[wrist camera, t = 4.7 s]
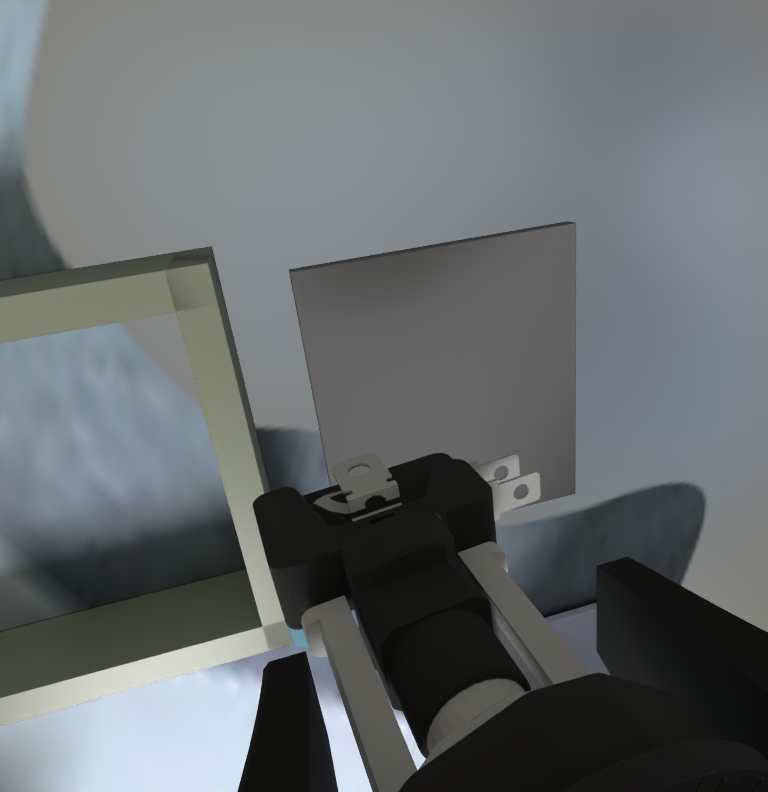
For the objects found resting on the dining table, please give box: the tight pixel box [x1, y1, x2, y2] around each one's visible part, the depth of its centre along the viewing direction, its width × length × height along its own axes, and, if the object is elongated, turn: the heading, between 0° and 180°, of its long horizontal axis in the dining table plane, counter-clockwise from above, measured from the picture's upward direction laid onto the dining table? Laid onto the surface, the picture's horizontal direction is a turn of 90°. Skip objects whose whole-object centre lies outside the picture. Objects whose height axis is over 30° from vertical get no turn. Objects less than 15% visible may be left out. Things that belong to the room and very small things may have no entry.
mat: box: [289, 222, 576, 510], centre depth 20 cm, size 9×10×1 cm
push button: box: [253, 453, 768, 792], centre depth 10 cm, size 7×5×10 cm
